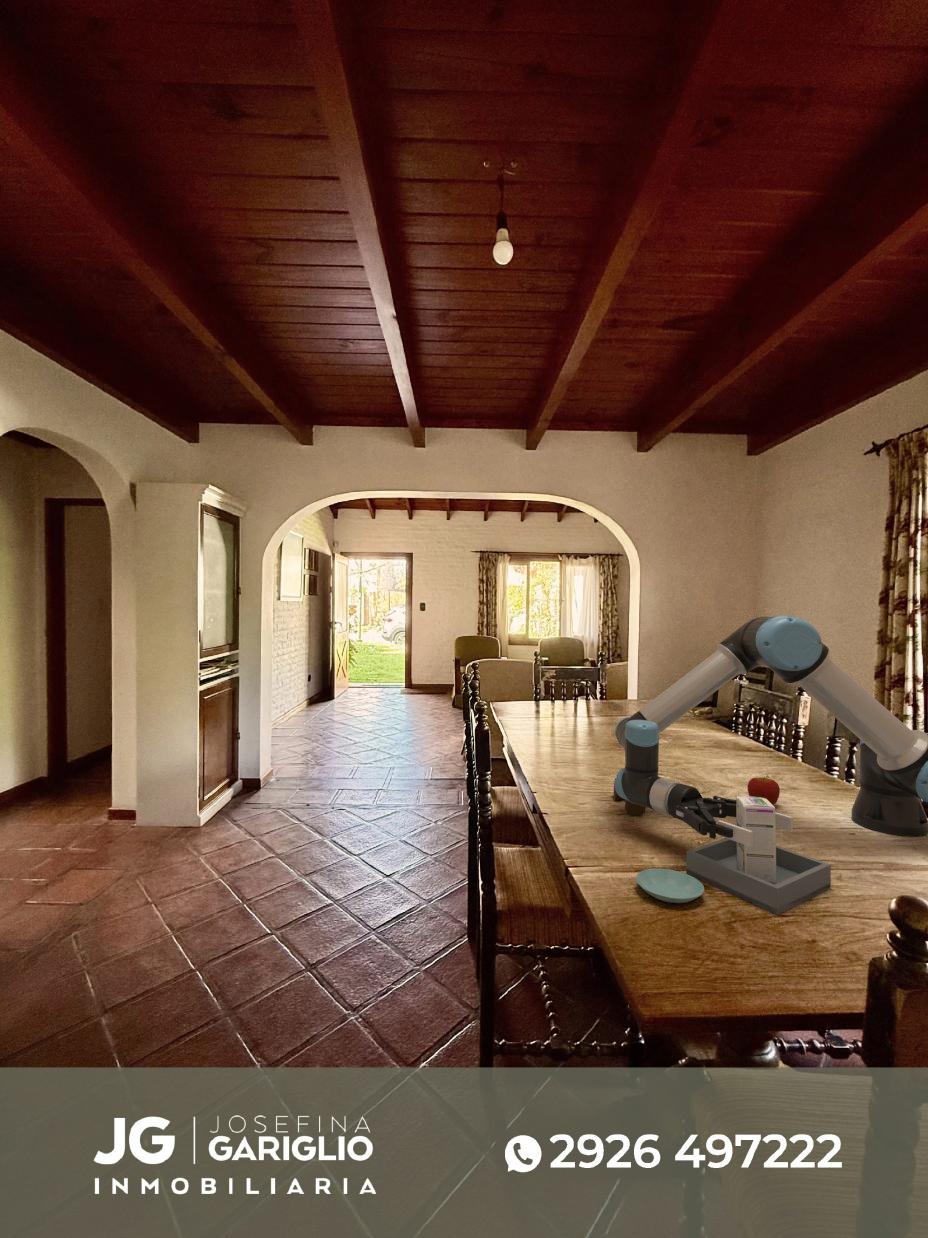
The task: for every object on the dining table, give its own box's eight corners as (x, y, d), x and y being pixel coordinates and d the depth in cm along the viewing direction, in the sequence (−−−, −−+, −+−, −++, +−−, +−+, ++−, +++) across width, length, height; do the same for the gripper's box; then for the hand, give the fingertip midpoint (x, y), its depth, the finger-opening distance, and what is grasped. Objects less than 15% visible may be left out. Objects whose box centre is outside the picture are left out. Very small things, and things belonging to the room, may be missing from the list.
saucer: (647, 874, 112) (647, 862, 111) (710, 891, 105) (710, 878, 105) (626, 898, 102) (627, 885, 102) (695, 918, 95) (695, 905, 95)
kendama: (615, 818, 144) (612, 792, 163) (654, 822, 142) (647, 795, 161) (616, 794, 144) (613, 771, 163) (655, 798, 141) (647, 774, 161)
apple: (772, 801, 155) (772, 773, 155) (785, 811, 147) (785, 781, 147) (742, 800, 156) (742, 772, 156) (754, 810, 148) (754, 780, 148)
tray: (740, 854, 121) (740, 833, 121) (830, 888, 105) (830, 864, 105) (686, 873, 111) (686, 851, 111) (777, 915, 96) (777, 889, 96)
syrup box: (777, 884, 105) (777, 806, 105) (743, 881, 106) (743, 804, 106) (767, 870, 110) (767, 797, 110) (734, 868, 112) (735, 795, 111)
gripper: (711, 807, 130) (807, 838, 112) (637, 828, 117) (732, 867, 99) (711, 774, 130) (807, 800, 112) (637, 792, 117) (733, 824, 99)
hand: (772, 831), depth 105 cm, fingers open, 13 cm apart
